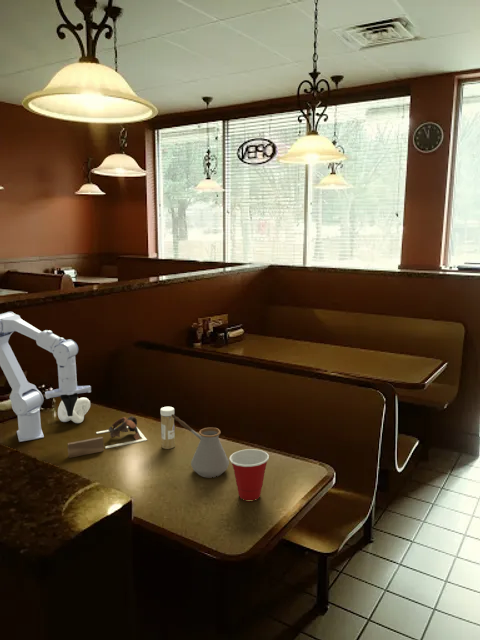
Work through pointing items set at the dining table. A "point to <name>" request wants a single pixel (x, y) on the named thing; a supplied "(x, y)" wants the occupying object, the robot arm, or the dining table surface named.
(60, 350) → the robot arm
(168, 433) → the sprinkles bottle
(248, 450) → the plastic cup
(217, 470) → the coffee pot
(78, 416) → the white knot
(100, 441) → the walnut screen
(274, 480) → the dining table surface
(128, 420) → the brown curved piece
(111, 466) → the dining table surface
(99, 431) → the bay outline
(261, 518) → the dining table surface
